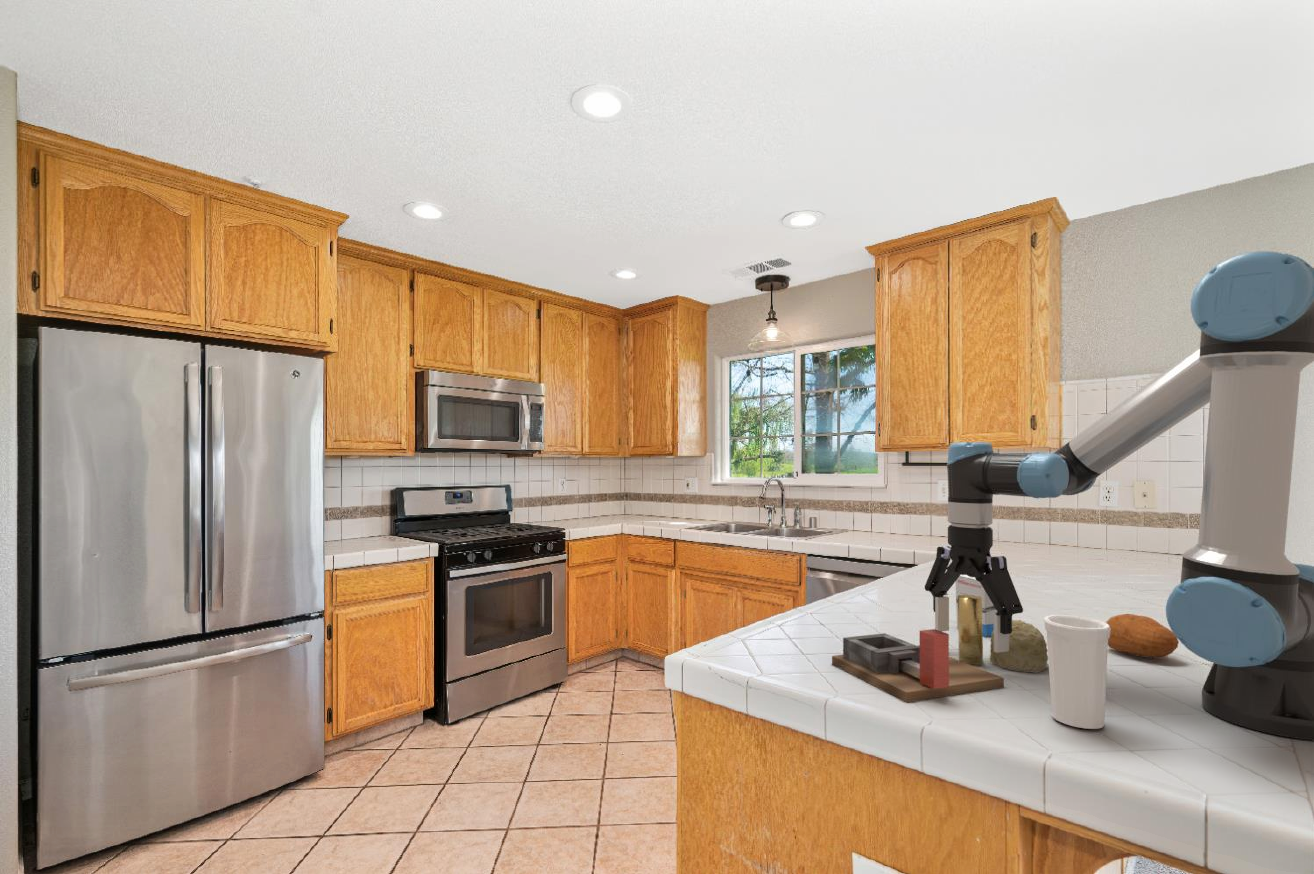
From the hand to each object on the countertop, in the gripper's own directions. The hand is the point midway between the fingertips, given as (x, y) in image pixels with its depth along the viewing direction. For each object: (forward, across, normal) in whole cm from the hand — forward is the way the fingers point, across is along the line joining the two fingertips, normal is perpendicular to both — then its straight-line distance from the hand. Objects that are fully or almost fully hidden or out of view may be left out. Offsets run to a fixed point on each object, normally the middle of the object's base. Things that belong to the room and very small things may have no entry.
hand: (970, 640), depth 118 cm
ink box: (+4, +16, -19) cm, 25 cm away
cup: (+4, -26, +7) cm, 27 cm away
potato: (+4, -8, -35) cm, 36 cm away
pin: (+2, -8, +19) cm, 21 cm away
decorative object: (+4, -4, -8) cm, 9 cm away
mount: (+4, -2, +15) cm, 16 cm away
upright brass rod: (+4, 0, 0) cm, 4 cm away
